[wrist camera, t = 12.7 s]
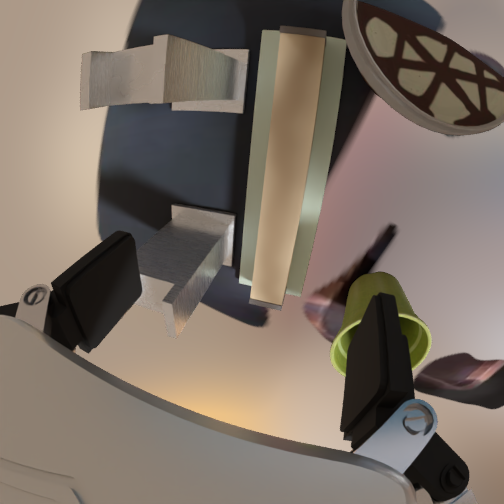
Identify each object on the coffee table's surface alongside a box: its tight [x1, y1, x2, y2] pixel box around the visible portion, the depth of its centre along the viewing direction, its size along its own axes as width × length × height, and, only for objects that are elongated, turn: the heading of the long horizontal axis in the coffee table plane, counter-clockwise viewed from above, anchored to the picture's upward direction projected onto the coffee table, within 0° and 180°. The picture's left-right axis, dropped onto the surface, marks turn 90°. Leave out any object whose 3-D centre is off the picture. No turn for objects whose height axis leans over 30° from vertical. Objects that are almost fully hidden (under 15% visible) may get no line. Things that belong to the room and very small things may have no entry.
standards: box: [80, 34, 250, 339], centre depth 20 cm, size 7×22×13 cm, turn 175°
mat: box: [239, 30, 346, 297], centre depth 24 cm, size 7×26×1 cm, turn 175°
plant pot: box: [330, 272, 431, 377], centre depth 25 cm, size 9×9×9 cm
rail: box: [249, 26, 326, 311], centre depth 23 cm, size 3×25×3 cm, turn 175°
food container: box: [342, 0, 504, 136], centre depth 14 cm, size 12×6×10 cm, turn 78°
